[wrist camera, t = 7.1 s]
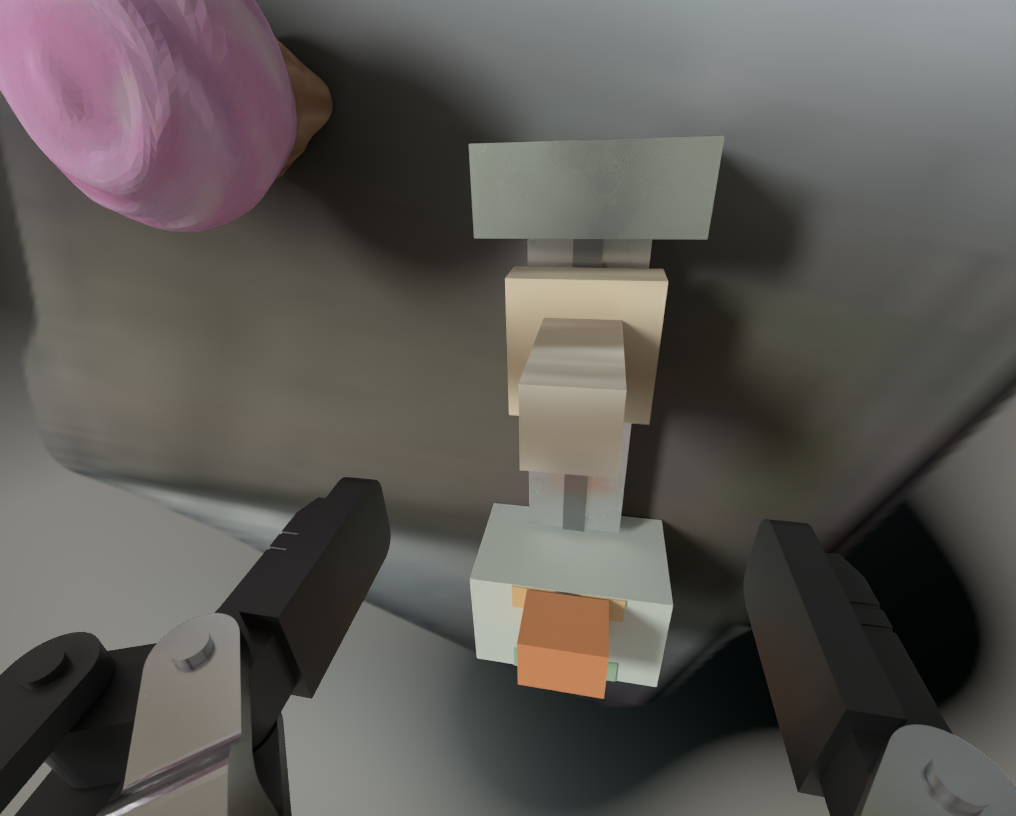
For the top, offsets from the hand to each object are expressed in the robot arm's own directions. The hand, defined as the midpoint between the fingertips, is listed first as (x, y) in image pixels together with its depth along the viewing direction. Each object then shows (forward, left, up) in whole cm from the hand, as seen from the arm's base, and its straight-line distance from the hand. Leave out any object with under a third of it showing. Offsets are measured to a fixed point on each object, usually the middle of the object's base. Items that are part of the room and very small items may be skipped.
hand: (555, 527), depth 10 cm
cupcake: (-9, -14, -15) cm, 23 cm away
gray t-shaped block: (+2, 0, -15) cm, 15 cm away
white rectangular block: (+15, 0, -15) cm, 21 cm away
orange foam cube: (+14, 0, -9) cm, 16 cm away
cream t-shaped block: (0, 0, -12) cm, 12 cm away
